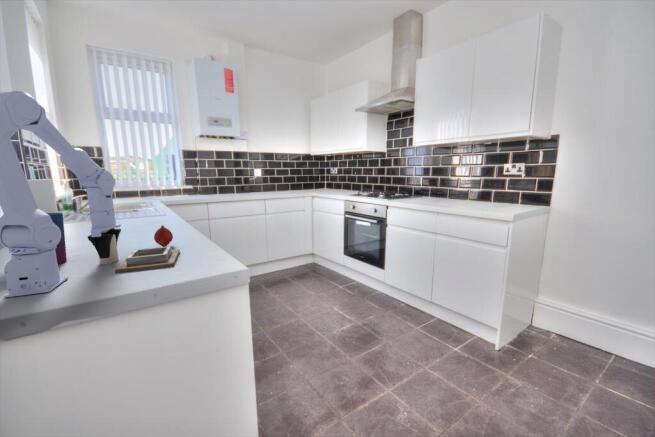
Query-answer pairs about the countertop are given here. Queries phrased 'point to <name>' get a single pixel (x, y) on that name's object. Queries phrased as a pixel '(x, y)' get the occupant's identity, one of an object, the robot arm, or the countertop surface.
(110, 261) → the roll
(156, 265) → the holder
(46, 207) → the cylindrical container
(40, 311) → the countertop surface
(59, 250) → the cup
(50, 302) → the countertop surface
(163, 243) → the red round fruit
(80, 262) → the countertop surface
